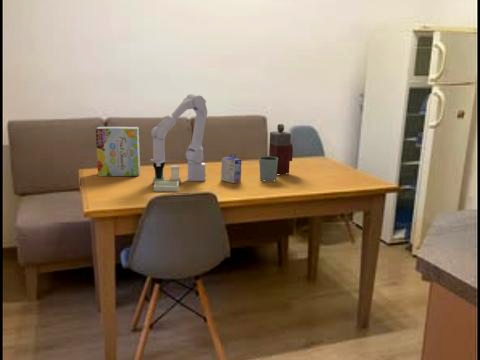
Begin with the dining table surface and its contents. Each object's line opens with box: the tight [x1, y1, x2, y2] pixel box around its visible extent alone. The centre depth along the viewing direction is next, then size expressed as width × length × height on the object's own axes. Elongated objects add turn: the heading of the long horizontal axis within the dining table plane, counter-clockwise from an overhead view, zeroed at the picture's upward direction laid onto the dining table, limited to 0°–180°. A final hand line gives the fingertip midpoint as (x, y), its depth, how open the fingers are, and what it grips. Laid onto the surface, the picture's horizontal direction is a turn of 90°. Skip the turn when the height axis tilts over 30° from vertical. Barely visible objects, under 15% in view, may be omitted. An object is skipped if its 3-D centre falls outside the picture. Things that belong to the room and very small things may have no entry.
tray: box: [153, 181, 180, 192], centre depth 244 cm, size 12×11×2 cm
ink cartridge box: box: [220, 152, 242, 184], centre depth 261 cm, size 10×6×14 cm, turn 48°
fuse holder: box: [152, 176, 182, 186], centre depth 253 cm, size 14×7×3 cm, turn 96°
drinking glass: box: [258, 155, 278, 182], centre depth 266 cm, size 10×10×12 cm
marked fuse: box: [154, 170, 164, 179], centre depth 252 cm, size 4×3×8 cm
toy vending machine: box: [268, 123, 294, 174], centre depth 281 cm, size 9×11×28 cm
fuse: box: [170, 165, 180, 179], centre depth 253 cm, size 4×3×8 cm
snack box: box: [95, 126, 141, 177], centre depth 266 cm, size 22×9×26 cm, turn 95°
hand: (159, 177), depth 252 cm, fingers closed on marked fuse, 3 cm apart
